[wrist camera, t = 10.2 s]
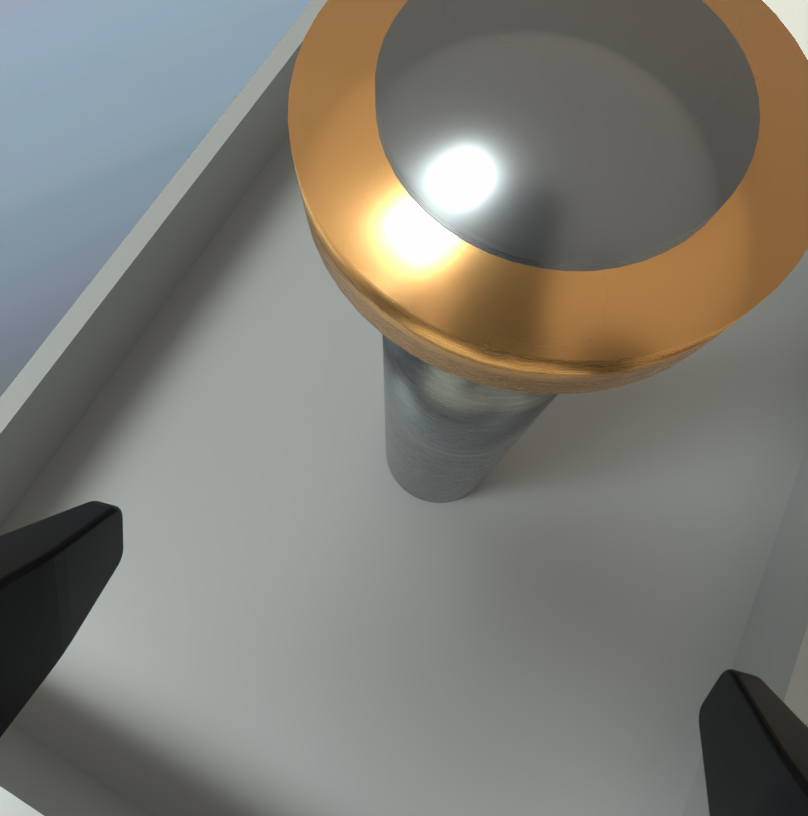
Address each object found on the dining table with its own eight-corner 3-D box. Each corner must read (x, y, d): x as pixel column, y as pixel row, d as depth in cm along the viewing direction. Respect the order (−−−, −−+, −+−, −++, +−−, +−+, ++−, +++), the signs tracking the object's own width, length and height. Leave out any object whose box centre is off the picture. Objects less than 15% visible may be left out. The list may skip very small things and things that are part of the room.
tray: (591, 1123, 13) (646, 1269, 10) (-110, 663, 16) (-221, 678, 13) (873, 278, 20) (955, 223, 17) (346, 46, 22) (339, -35, 19)
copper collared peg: (533, 509, 17) (955, 283, 4) (378, 544, 16) (342, 408, 4) (493, 364, 18) (726, -143, 5) (347, 393, 18) (245, -78, 5)
